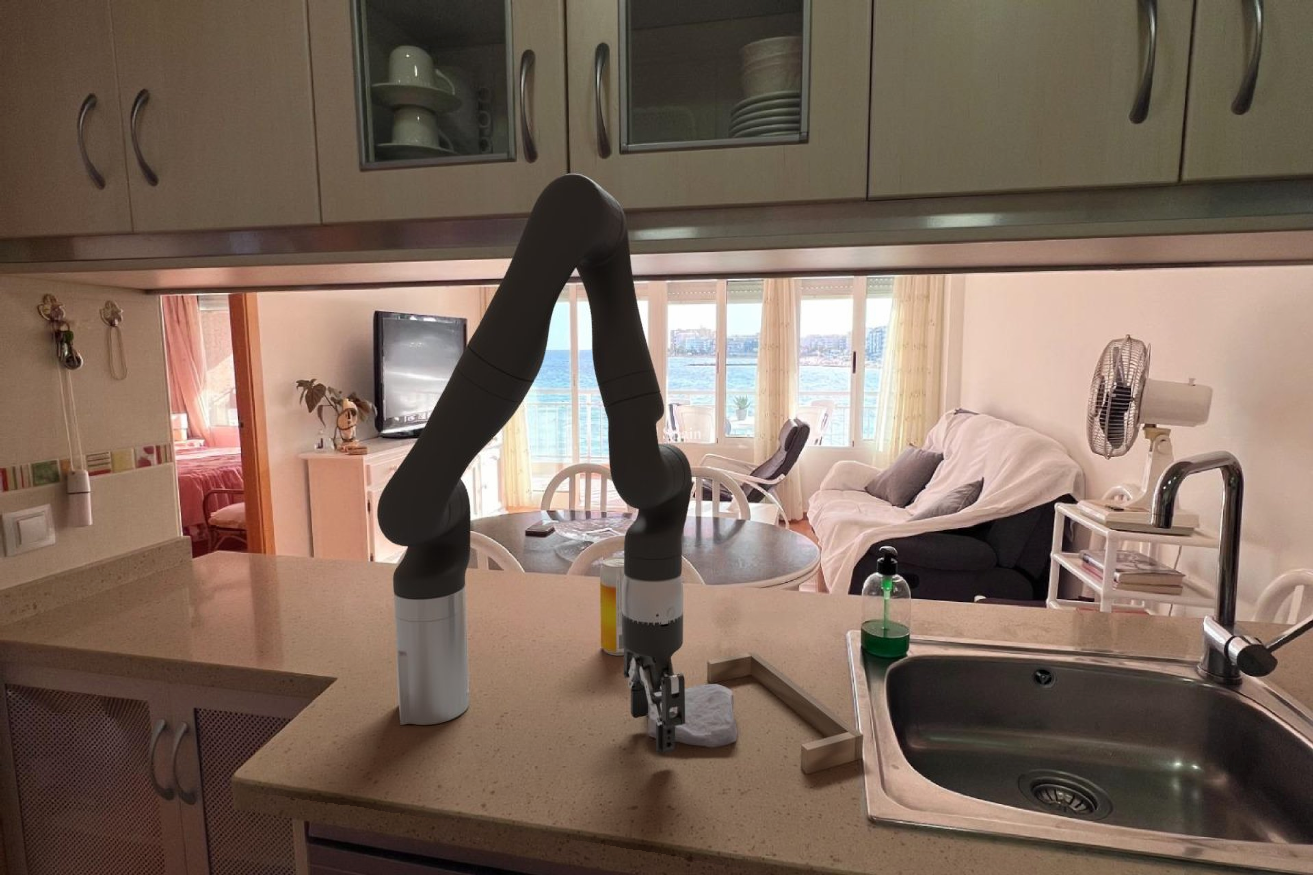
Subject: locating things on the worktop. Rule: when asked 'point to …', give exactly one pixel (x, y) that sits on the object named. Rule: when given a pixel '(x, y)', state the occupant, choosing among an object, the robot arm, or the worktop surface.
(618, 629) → the beer can
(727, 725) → the stone block
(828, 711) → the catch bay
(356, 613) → the worktop surface
